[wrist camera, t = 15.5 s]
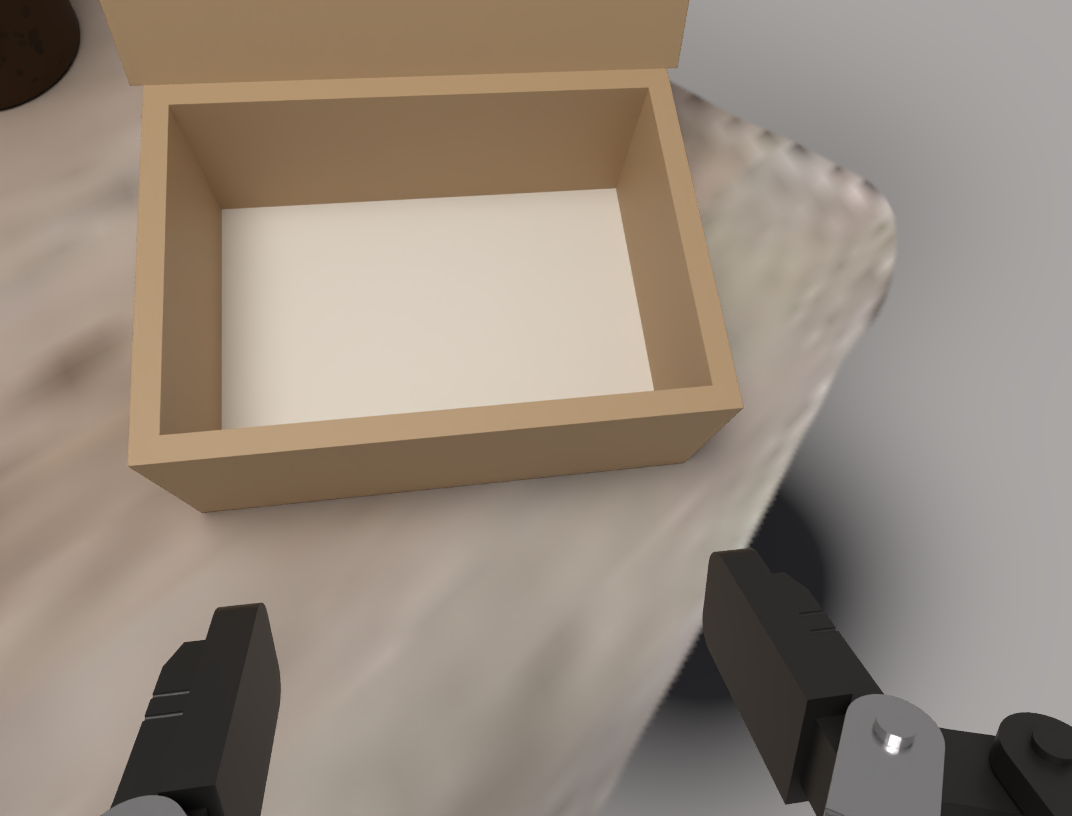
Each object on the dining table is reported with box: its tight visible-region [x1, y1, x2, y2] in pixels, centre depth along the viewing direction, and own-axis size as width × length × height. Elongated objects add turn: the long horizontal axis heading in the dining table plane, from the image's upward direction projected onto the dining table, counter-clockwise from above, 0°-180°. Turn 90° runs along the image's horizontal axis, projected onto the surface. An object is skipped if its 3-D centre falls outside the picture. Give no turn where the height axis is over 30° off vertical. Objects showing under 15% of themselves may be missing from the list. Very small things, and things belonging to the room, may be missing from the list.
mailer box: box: [128, 68, 743, 513], centre depth 34 cm, size 16×22×8 cm
